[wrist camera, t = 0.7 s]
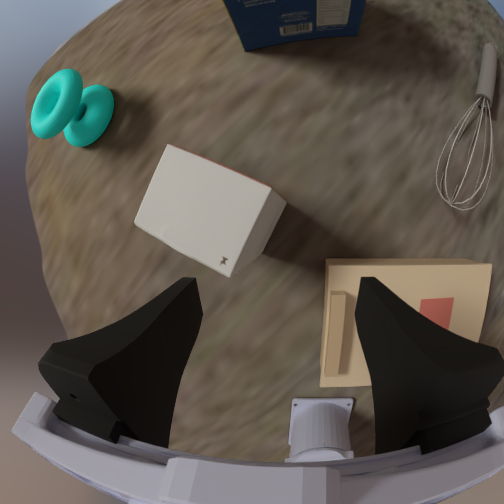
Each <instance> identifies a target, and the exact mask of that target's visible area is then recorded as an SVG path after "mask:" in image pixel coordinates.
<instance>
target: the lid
mask: <svg viewBox="0 0 504 504" xmlns="http://www.w3.org/2000/svg"><path fill="white" fill-rule="evenodd" d="M491 271H492V264H490V263H479V264H383V265H335V264H328V289H327V308H326V323H325V337H324V348H323V359H322V368H321V377H320V387H349V386H368V385H371V379H370V375H369V371H368V367H367V364H366V360H365V357H364V353H363V350H362V347H361V343H360V340H359V337H358V333H357V327H356V321H355V315H354V313H355V308H356V303H357V297H358V292H359V286H360V279H361V277H375V278H377V279H378V280H379V281H381V282H382V283H383V284H384V285H385V286H387V287H388V288H389V289H390V290H391V291H392V292H394V293H395V294H396V295H397V296H398V297H400V298H401V299H402V300H403V301H405V302H406V303H407V304H408V305H410V306H411V307H412V308H414V309H415V310H416V311H418V312H419V313H421V314H422V315H423V316H425V317H427V318H428V319H430V320H431V321H433V322H435V323H436V324H438V325H440V326H441V327H443V328H445V329H447V330H449V331H451V332H453V333H455V334H457V335H459V336H462V337H464V338H467V339H469V340H472V341H474V342H477V343H478V341H479V337H480V333H481V329H482V325H483V320H484V316H485V311H486V305H487V300H488V294H489V287H490V279H491Z"/></svg>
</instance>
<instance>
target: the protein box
mask: <svg viewBox="0 0 504 504" xmlns="http://www.w3.org/2000/svg"><path fill="white" fill-rule="evenodd" d="M222 2H223V4H224V6H225V8H226V11H227V13H228V15H229V17H230V20H231V22H232V24H233V27H234V29H235V31H236V34H237V36H238V38H239V40H240V43H241V45H242V48H243V50H244V51H249V50H254V49H258V48H262V47H267V46H272V45H277V44H282V43H288V42H294V41H301V40H309V39H317V38H327V37H341V36H357V35H358V32H359V28H360V24H361V20H362V16H363V11H364V7H365V3H366V0H222Z"/></svg>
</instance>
